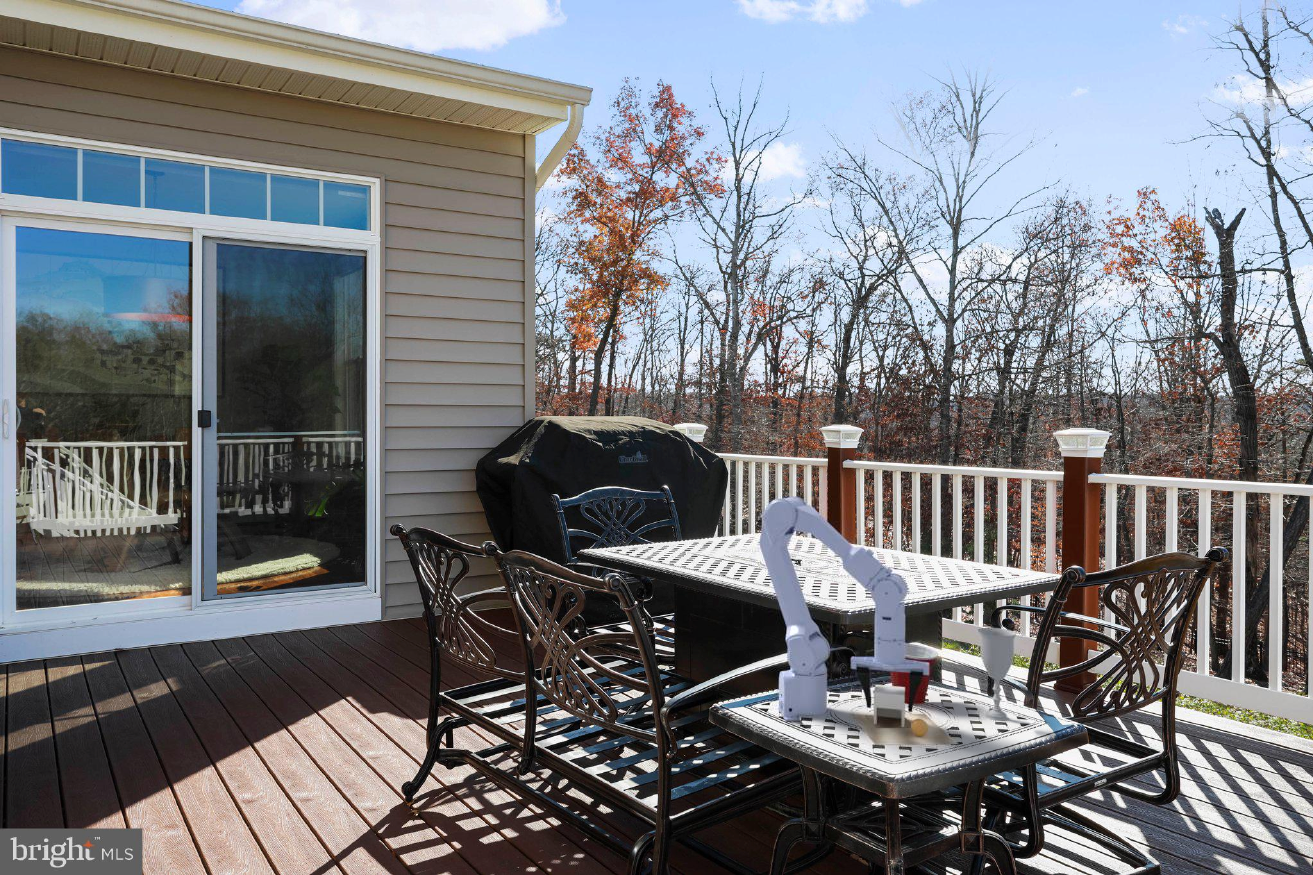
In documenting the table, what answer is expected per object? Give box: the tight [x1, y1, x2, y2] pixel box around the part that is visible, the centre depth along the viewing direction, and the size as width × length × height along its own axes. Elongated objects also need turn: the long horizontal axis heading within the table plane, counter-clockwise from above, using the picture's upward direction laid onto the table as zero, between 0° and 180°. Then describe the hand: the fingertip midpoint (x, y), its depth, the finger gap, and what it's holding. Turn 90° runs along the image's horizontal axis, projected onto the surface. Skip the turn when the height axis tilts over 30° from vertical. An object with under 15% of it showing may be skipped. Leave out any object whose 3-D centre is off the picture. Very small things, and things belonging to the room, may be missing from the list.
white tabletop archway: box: [873, 684, 906, 727], centre depth 164 cm, size 6×6×6 cm
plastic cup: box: [889, 642, 939, 705], centre depth 179 cm, size 11×11×12 cm
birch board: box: [849, 713, 959, 746], centre depth 160 cm, size 15×17×1 cm
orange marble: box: [911, 719, 928, 736], centre depth 156 cm, size 3×3×3 cm
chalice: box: [977, 627, 1017, 722], centre depth 167 cm, size 7×7×18 cm
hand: (889, 708), depth 164 cm, fingers open, 7 cm apart
